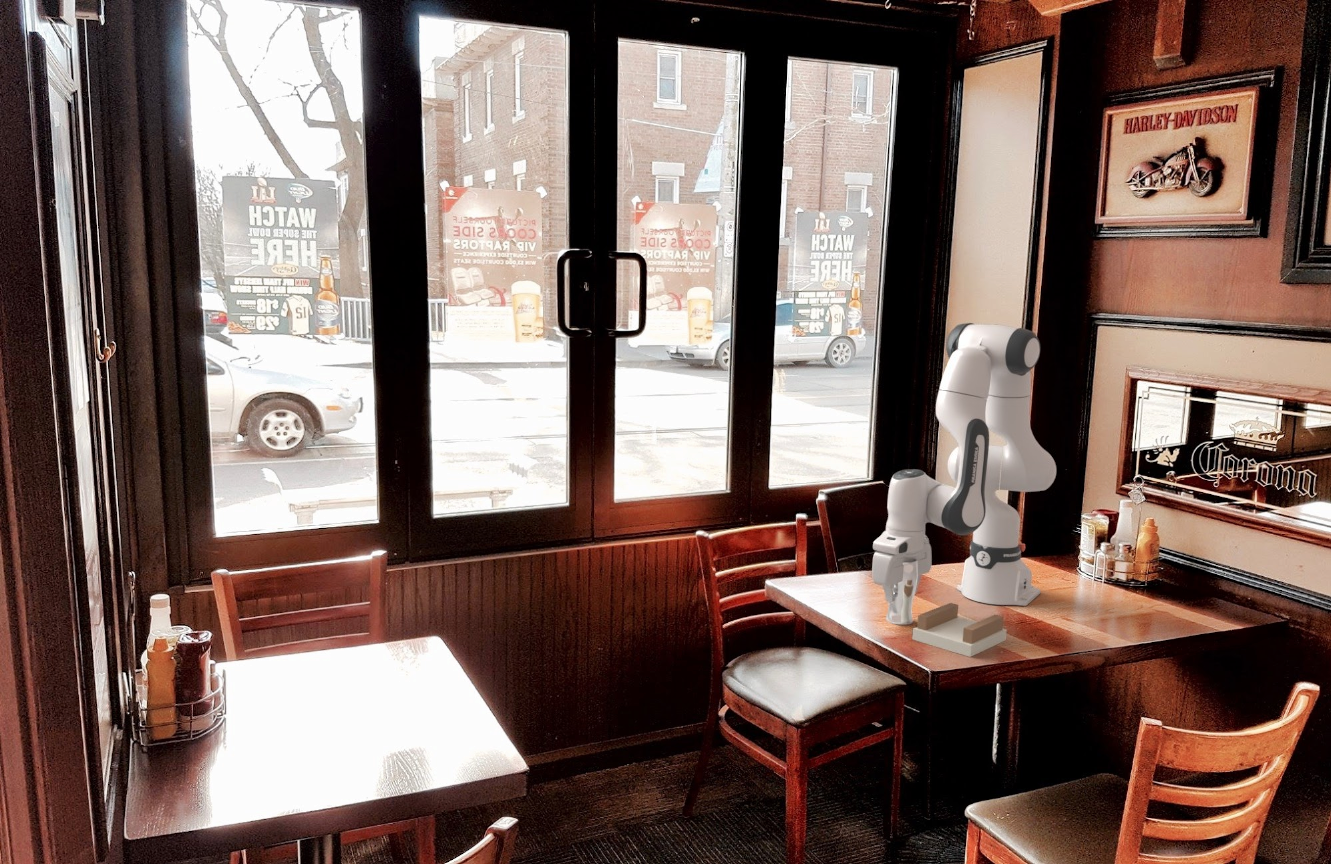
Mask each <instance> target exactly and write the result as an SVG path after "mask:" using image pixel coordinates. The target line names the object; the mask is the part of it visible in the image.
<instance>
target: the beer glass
mask: <svg viewBox="0 0 1331 864" xmlns="http://www.w3.org/2000/svg"><path fill="white" fill-rule="evenodd" d="M903 565H904V570H903V580H902V581H901V582H898V583H895V584H894V588H892V589H893V594H895V601H893V602H888V609H887V613H886V618H885V621H887V622H888V623H889V624H893V625H898V626H901V625H902V626H908V625H911V624H913V622H914V619H913V618H914V617H913V612H912V609H913V608H912V607H913V602H914V598H915V597H914V596H915V595H916V594H915V590H916V585H917V578H918V560H917V559H916V558H915V561H914V562H903Z"/></svg>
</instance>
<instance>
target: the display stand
mask: <svg viewBox="0 0 1331 864" xmlns="http://www.w3.org/2000/svg"><path fill="white" fill-rule="evenodd" d="M1003 627H1004V616H1002V615H998V614H993V615H990V616H989V617H986V618H984V619H980V620H979V621H977V620H973V619H970V618H967V617H962V616H959V604H956V603H953V602H949V603H946V604H944V605H941V606H938V607H936V608H934V609H930V610H929V611H925V612H923V613H921V614H918V615H917V626H916V627H914V628H912V636H911V637H912V638H911V639H912V641H915V642H920V643H922V644H925V645H930V646H933V647H936V648H938V649H943V650H945V651H949V652H953V653H955V654H959V655H962V656H966V657H969V658H971V657H974V656H975V655H977V654H979V653H982V652H984V651H986V650H988V649H990V648H992V647H994V646H996V645H1000V644H1001V643H1003V642H1006V641H1007V631H1008V629H1006V628H1003Z"/></svg>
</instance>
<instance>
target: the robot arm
mask: <svg viewBox="0 0 1331 864" xmlns="http://www.w3.org/2000/svg"><path fill="white" fill-rule="evenodd" d="M945 348H946V349H945V350H946V353H947V356H948V361H947V364H946V366H945V369H944V372H943V374H942V377H941V381H940V384H939V389H938V392H937V397H936V400H935V401H936V402H935V403H936V404H935V417H936V419H937V421H938V422H939V424H940V426H942V428H943V429H944V430H945V431H947V433H950V434H951V436H952V437H953V438H954V439H955V441H956V443H957V444H958V446H957V447H955V448H954V449H953V450H952V451H951V453H950V454H949V457H948V459H947V472H948V474H949V477H950V478H951V480H952V482H954V483H955V484H956V487H954V486H951V485H950V484H946V483H943V482H940V481H938V480H935V479H934V478H932V477H930V476H929V475H927V474H926V472H924V471H923V470H921V469H915V468H913V469H912V468H911V469H902V470H899V471H897V472H895V473H894V474H893V475H892V477H891V479H890V482H889V488H888V493H887V507H886V508H887V514H888V515H887V516H888V517H887V520H886V523H885V524H886V525H885V530H884V531H883V532H882V533H881V535H880V536H879V537H877V538H876V539H875V540H874V541H873V542H872V543H873V544H872V549H873V550H874V554H873V557H872V568H871V570H872V571H871V577H872V578H871V580H872V582H873V583H874V584H875V585H878V586H881V587H882V589H883V591H884V595H885V596H884V600H885V602H887V603H889V602H893V601H895V594H893V589H892V588H894V584H895V583H898V582H901V581H902V580H903V570H904V565H903V562H914V561H915V558H916V559H917V560H918V578H917V585H916V590H915V594H914V595H916V594H917V593H918V586H919V584H920V582H921V579H922V575H925V574H929V573H930V572H931V569H932V560H933V559H932V558H933V557H932V546H931V544H930V540H929V538H928V536H927V535H926V524H927V523H931V524H934V525H935V526H938V527H942V528H944V529H947V530H948V531H950V532H952V533H953V534H956V535H959V536H968V535H971V534H972V540H971V541H970V545H969V554H970V556H969V557H968V558H966V559H965V560H964V567H963V573H962V579H961V583H960V584H957V587H956V589H957V590H958V591H960V592H961V595H962V596H963V597H965V598H967V599H969V600H972V601H975V602H978V603H983V604H989V605H997V606H998V605H1001V606H1005V605H1006V606H1023V607H1026V606H1028V605H1029V604H1030V603H1031V602H1032V601H1033V600H1034V599H1036V598H1037V597H1038V596H1039V595H1040V594H1041V589H1040V588H1038V587H1036V586H1034V585H1032V579H1033V578H1032V577H1033V576H1032V570H1031V569H1030V568H1029V567H1028V566H1027V565H1026V564H1025V562H1024V561H1023V560H1022V554H1021V553H1022V552H1024V551H1025V550H1026V544H1025V543H1020V542H1019V539H1020V530H1021V529H1020V526H1021V516H1020V514H1019V512H1018V511H1017V509H1015V508H1014V507H1012V506H1011V505H1010V504H1008V503H1006V502H1004V501H1003V500H1001V499H1000V498H999V497H998V496H997V493H996V491H999V490H1000V491H1012V492H1024V493H1028V492H1029V493H1031V492H1040V491H1046V490H1047V489H1049V488H1050V487H1051V486H1052V484H1053V483H1054V481H1055V479H1056V476H1057V465H1056V462H1055V460H1054V458H1053V457H1052V455H1051V454H1050V453H1049V452H1048V451H1047V450H1046V449H1044V448H1043V447H1042V446H1041V445H1040V444H1039V442H1038V441H1037V440H1036V438H1035V436H1034V434H1033V431H1032V429H1031V422H1030V419H1031V418H1030V406H1031V392H1032V391H1031V389H1032V388H1031V386H1032V384H1031V383H1032V374H1031V371H1032V369H1033V368H1035V366H1036V364H1037V363H1038V361H1039V358H1040V356H1041V355H1040V354H1041V342H1040V340H1039V338H1038V336H1037V334H1036V333H1035V332H1034V331H1032V330H1029V329H1027V328H1022V327H1018V328H1017V327H1013V326H1009V325H1003V324H998V323H997V324H990V323H989V324H986V323H981V324H980V323H976V324H975V323H972V322H967V323H966V322H965V323H960V324H957V325H956V326H954V328H953V329H952V330H951V331H950V332H949V334H948V336H947V338H946V346H945ZM990 432H992V433H994V434H995V435H998V436H999V437H1001V438H1002V439H1003V440H1004V441H1005V443H1006V444H1005V445H990Z"/></svg>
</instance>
